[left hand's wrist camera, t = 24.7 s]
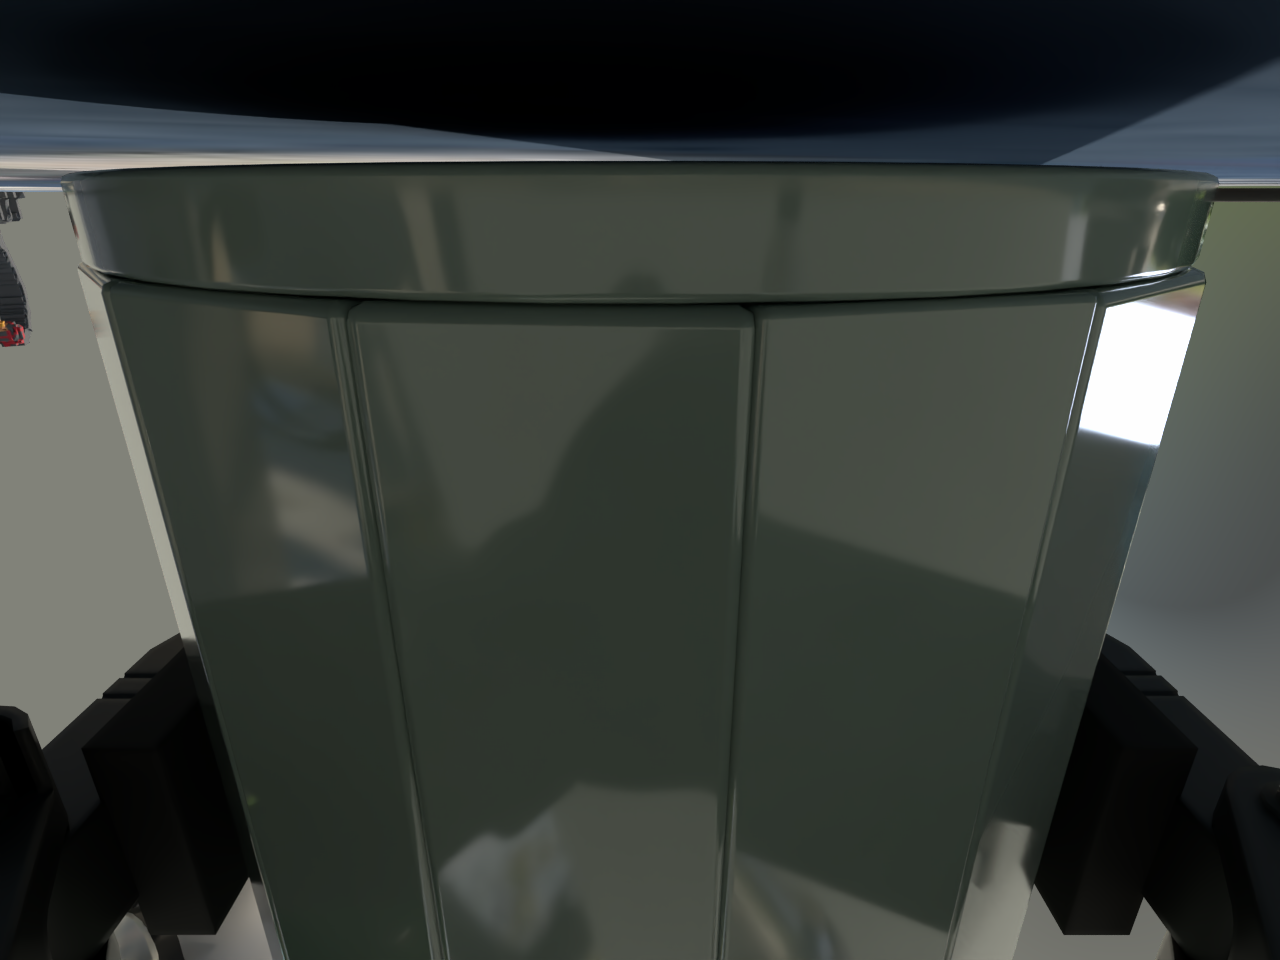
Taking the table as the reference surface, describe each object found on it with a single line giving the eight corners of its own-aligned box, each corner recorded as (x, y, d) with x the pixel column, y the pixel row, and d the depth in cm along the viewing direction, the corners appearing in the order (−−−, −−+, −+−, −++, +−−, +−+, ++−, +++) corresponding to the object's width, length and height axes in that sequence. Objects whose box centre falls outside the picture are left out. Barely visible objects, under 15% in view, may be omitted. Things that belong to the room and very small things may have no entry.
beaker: (1601, 173, 4) (1128, 1202, 9) (811, 189, 13) (768, 706, 17) (-630, 137, 2) (273, 1641, 6) (224, 186, 10) (347, 800, 15)
